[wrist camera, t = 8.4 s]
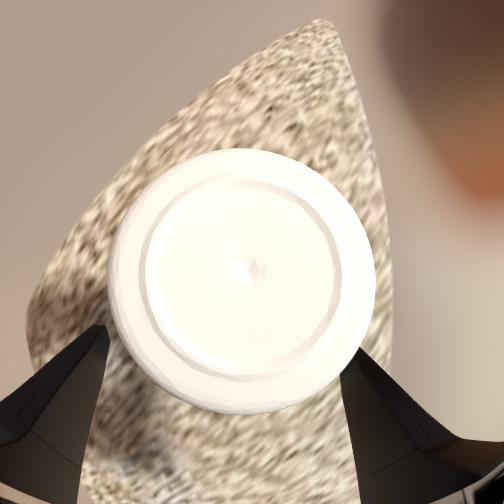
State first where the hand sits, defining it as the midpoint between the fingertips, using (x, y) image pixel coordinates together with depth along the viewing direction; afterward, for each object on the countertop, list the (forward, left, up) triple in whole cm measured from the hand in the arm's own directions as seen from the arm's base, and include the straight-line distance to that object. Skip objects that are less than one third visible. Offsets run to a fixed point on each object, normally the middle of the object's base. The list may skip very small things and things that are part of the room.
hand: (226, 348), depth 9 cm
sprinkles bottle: (+2, 0, -8) cm, 8 cm away
